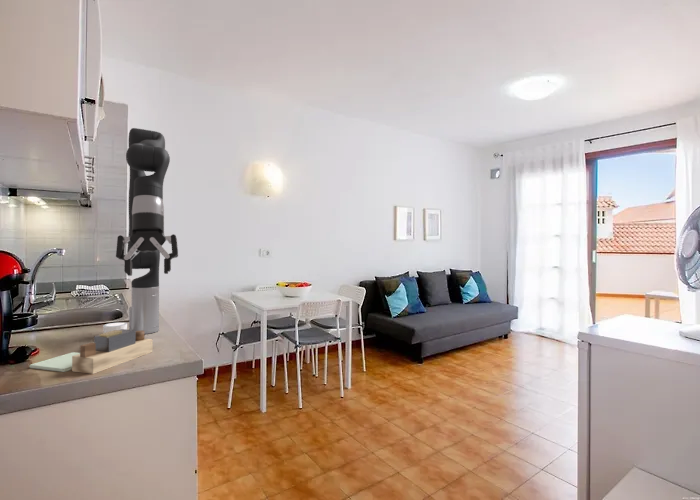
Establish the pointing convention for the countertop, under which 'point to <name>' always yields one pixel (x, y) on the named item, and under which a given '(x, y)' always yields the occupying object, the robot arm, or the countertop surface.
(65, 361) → the mat
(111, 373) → the countertop surface
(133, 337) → the dark gray block
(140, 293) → the robot arm
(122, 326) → the white cup
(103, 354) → the body
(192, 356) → the countertop surface
